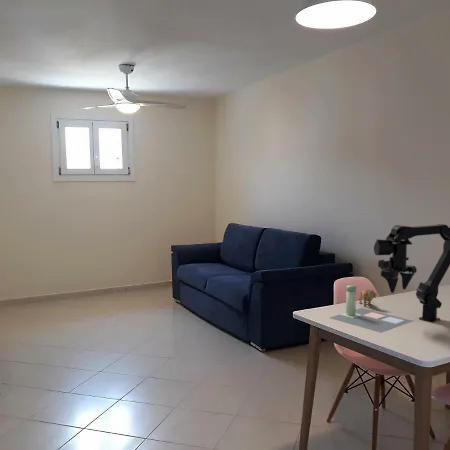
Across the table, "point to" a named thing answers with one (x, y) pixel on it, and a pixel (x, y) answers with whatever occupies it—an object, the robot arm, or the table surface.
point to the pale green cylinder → (351, 300)
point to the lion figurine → (367, 296)
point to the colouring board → (372, 320)
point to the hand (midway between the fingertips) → (398, 290)
